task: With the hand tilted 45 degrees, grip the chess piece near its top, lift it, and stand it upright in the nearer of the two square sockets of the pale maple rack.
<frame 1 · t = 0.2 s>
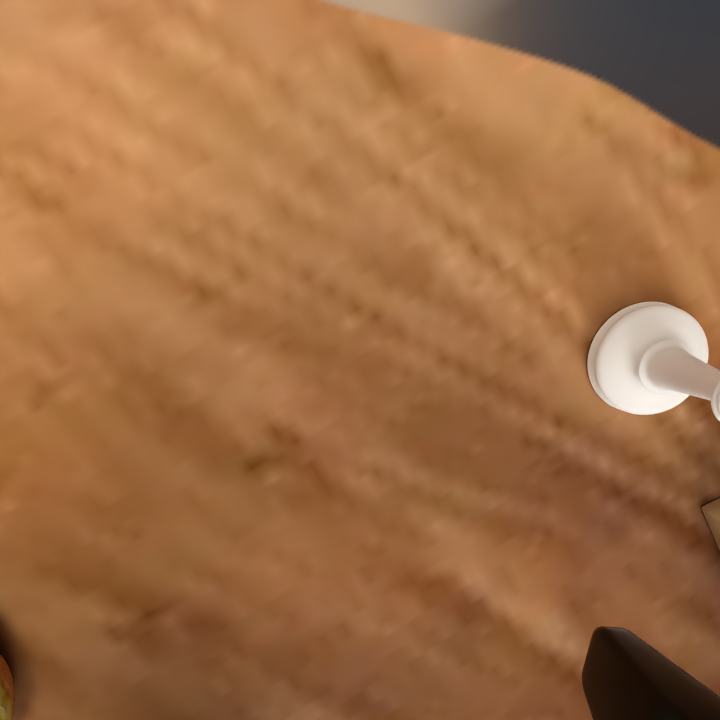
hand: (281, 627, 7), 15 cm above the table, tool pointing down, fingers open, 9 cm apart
chess piece: (640, 356, 21), on the table
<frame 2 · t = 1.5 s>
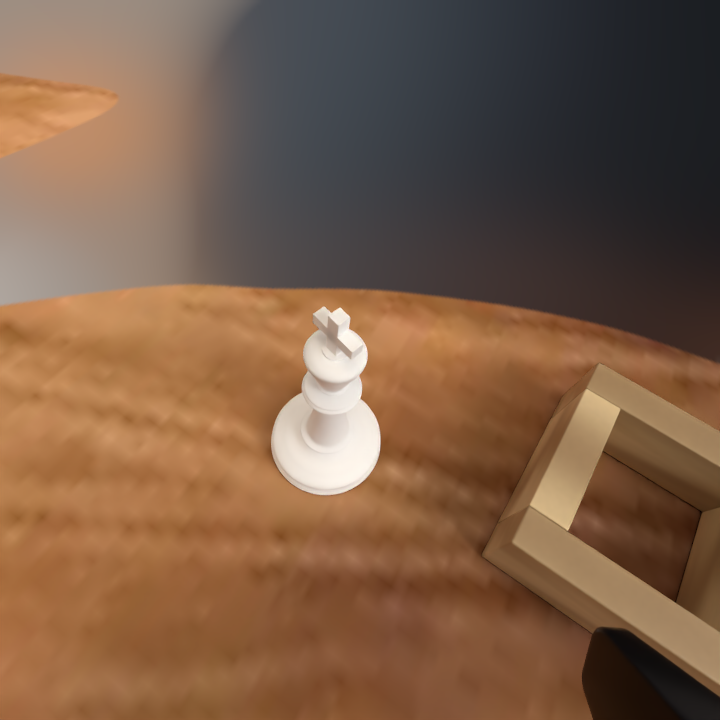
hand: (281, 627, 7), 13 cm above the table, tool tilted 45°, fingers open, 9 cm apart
rack: (702, 582, 21), on the table
chess piece: (326, 442, 22), on the table
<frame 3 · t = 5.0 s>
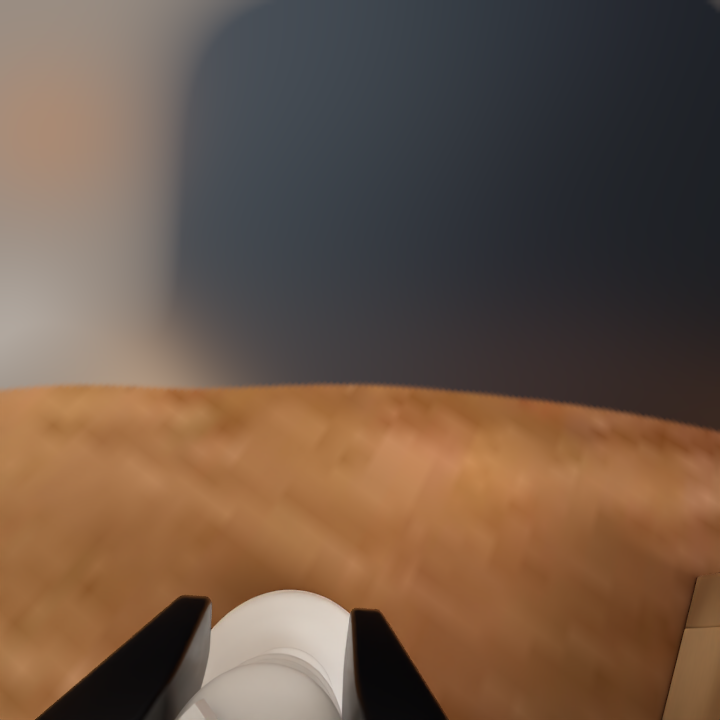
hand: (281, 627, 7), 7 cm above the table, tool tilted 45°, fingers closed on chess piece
chess piece: (284, 702, 12), on the table, touching gripper
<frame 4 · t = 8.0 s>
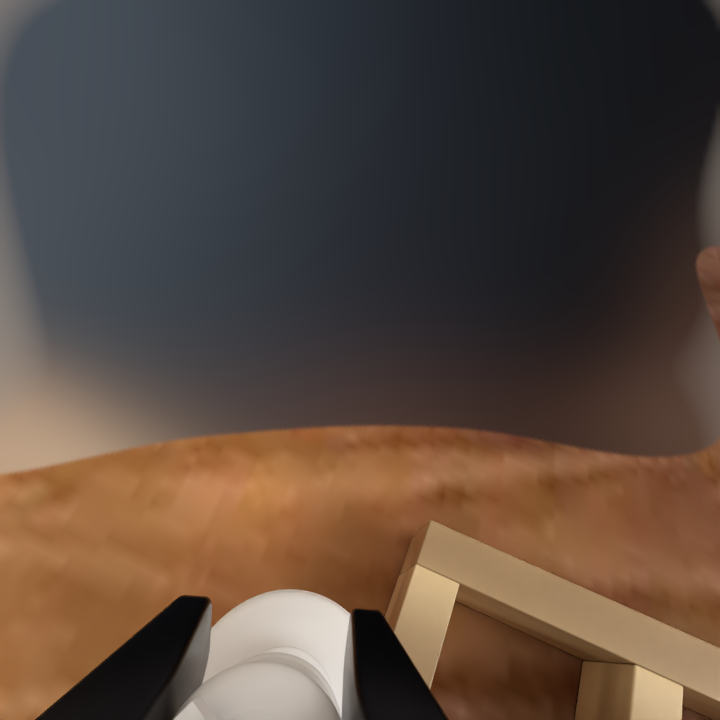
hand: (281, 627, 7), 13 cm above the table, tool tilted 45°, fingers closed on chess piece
chess piece: (283, 701, 12), point 7 cm above the table, touching gripper
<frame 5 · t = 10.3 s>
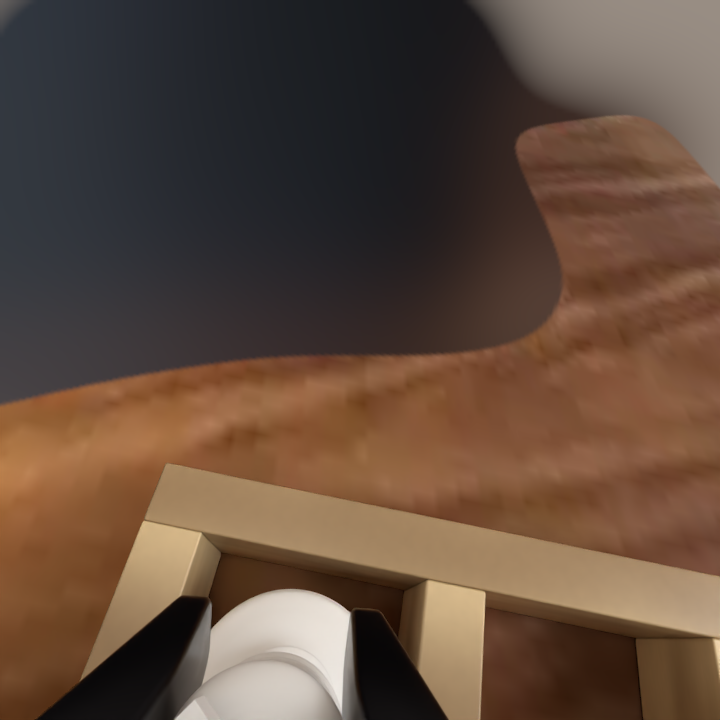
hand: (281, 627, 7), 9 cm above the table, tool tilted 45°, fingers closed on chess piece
rack: (416, 707, 14), on the table
chess piece: (284, 700, 12), point 3 cm above the table, touching gripper
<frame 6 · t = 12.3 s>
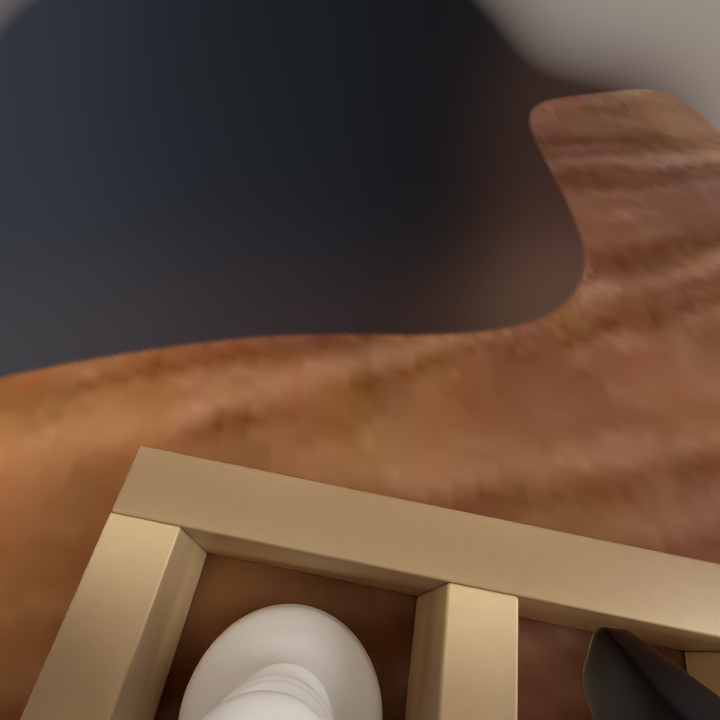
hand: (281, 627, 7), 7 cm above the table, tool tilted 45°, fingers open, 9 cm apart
chess piece: (283, 714, 12), resting in rack
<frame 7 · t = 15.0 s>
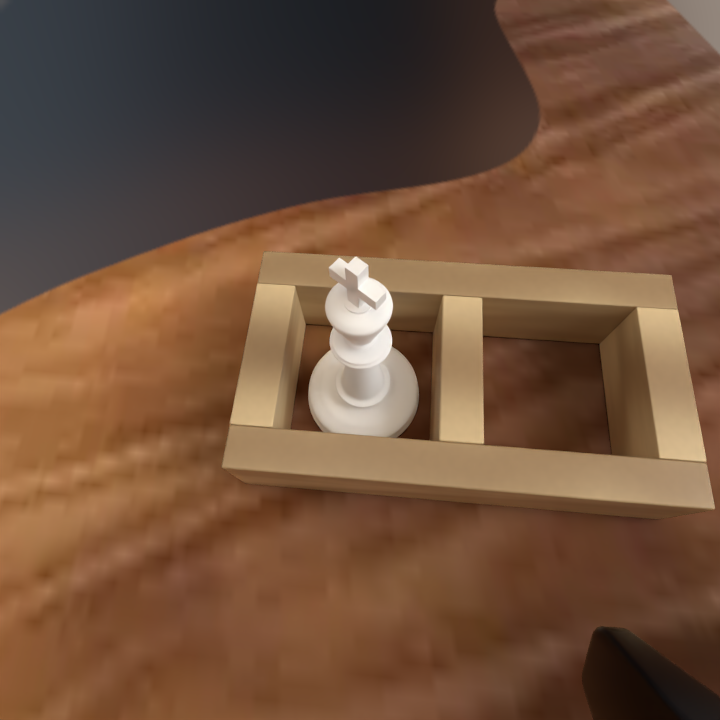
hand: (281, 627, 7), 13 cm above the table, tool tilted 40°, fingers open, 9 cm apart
rack: (448, 394, 22), on the table
chess piece: (363, 395, 22), resting in rack
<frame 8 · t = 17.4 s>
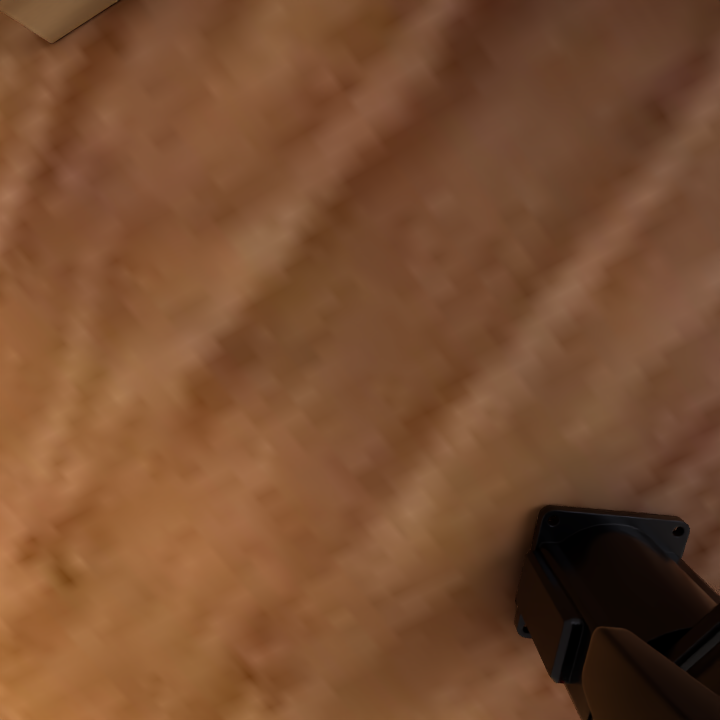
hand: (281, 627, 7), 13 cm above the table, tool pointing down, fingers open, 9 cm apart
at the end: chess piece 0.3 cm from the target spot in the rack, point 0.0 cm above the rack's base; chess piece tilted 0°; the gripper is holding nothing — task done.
